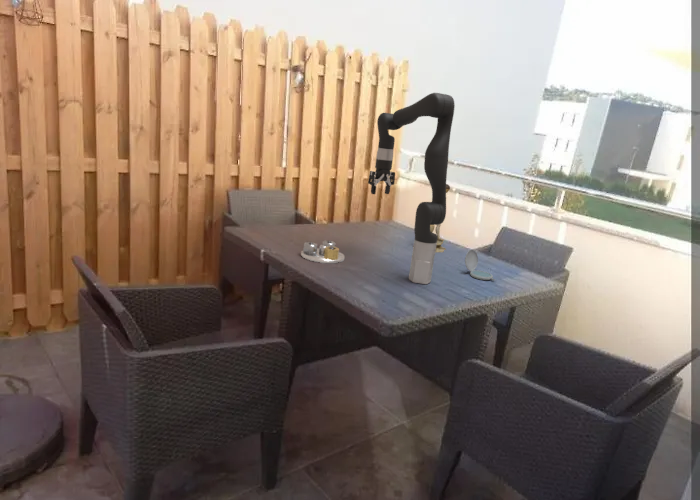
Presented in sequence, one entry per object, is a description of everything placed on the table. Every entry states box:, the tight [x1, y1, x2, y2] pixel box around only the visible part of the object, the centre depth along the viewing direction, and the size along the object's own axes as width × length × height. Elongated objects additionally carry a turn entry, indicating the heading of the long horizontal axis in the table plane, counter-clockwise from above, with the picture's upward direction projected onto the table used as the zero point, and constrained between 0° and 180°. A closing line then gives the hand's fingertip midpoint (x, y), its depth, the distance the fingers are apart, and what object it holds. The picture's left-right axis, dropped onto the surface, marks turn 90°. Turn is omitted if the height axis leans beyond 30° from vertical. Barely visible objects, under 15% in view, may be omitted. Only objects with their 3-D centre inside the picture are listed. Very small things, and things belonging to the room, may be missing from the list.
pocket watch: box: [464, 249, 497, 281], centre depth 211 cm, size 10×11×15 cm
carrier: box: [300, 240, 346, 264], centre depth 215 cm, size 20×20×6 cm
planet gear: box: [324, 246, 340, 260], centre depth 211 cm, size 6×6×4 cm
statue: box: [412, 183, 451, 254], centre depth 252 cm, size 17×17×35 cm
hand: (380, 193), depth 219 cm, fingers open, 8 cm apart
